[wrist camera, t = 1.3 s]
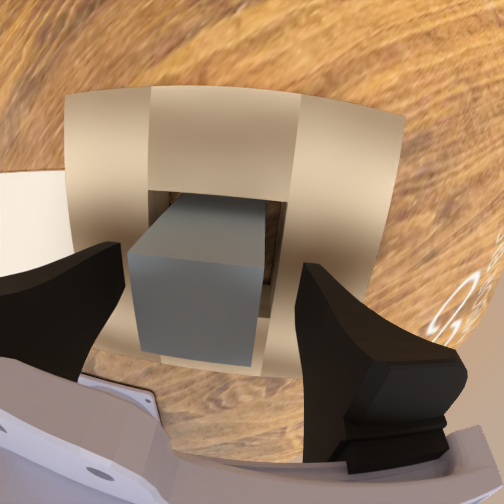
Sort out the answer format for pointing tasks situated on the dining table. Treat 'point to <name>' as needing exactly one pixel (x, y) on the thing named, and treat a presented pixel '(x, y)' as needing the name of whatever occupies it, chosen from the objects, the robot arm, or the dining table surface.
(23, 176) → the coaster
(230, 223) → the peg
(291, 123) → the pocket board
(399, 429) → the robot arm
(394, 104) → the dining table surface
